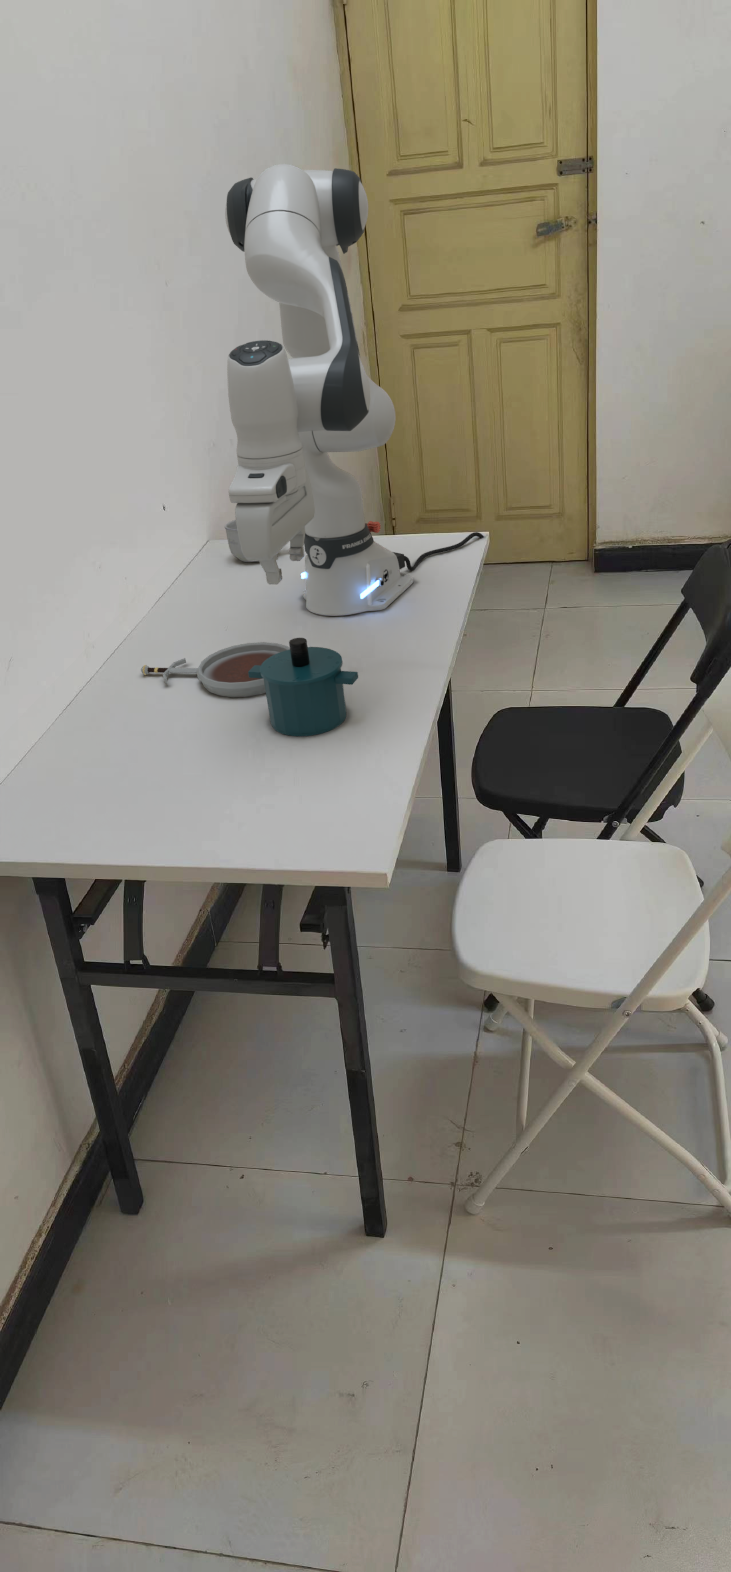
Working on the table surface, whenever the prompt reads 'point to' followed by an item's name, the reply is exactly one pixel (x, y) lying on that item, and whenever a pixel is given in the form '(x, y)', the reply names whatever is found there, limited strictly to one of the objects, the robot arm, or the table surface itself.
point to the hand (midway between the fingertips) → (286, 570)
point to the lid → (301, 664)
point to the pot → (307, 704)
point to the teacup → (234, 541)
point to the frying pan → (228, 669)
